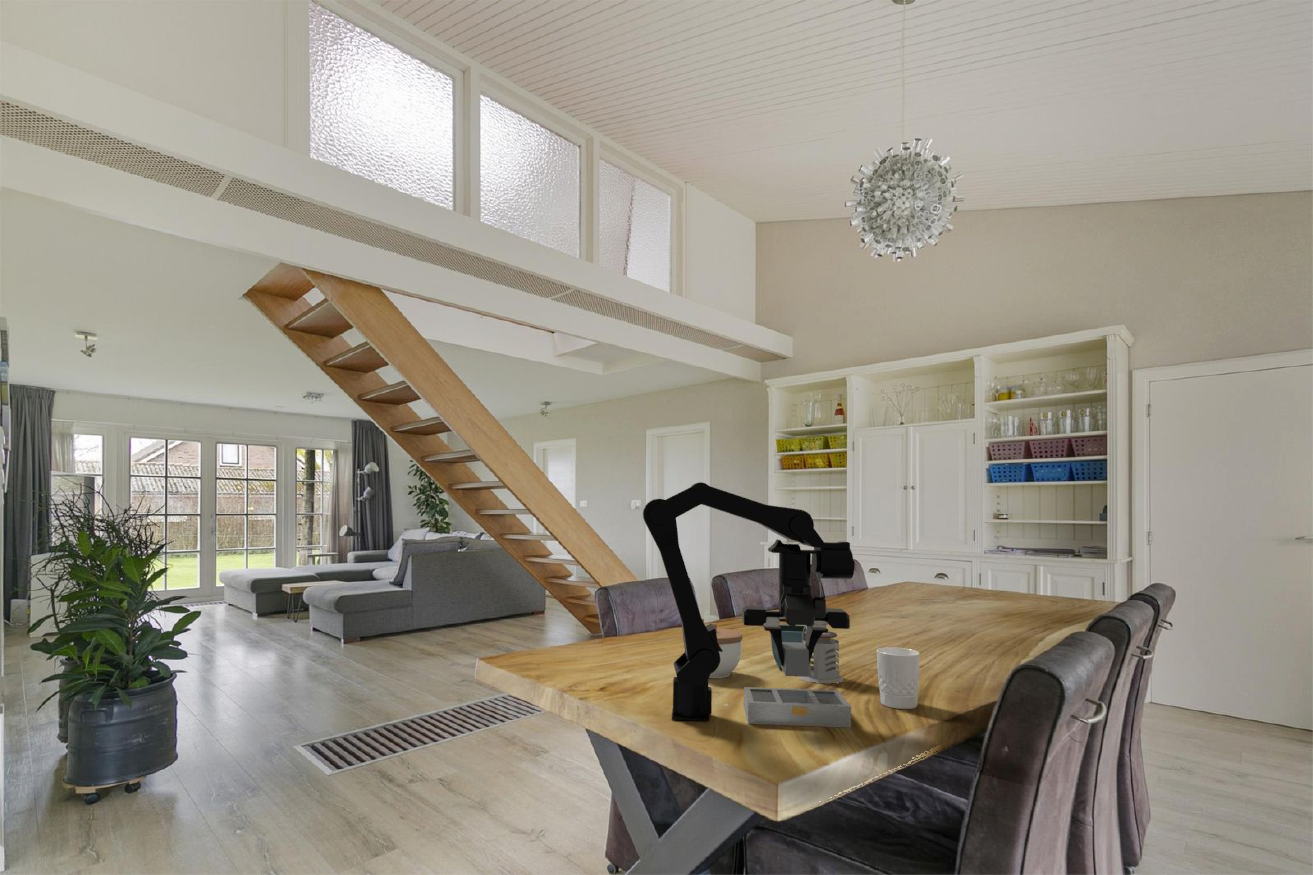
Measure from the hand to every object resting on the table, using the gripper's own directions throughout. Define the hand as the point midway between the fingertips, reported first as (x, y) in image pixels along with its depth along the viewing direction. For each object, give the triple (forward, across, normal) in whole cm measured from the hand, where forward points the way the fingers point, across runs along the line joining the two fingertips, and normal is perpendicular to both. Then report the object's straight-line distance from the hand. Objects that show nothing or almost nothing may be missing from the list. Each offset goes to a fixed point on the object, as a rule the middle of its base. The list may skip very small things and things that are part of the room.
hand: (794, 665), depth 125 cm
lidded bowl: (+9, -14, +29) cm, 34 cm away
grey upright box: (+1, 0, 0) cm, 1 cm away
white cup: (+9, +21, +10) cm, 25 cm away
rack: (+9, 0, 0) cm, 9 cm away
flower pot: (+9, +4, +39) cm, 41 cm away
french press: (+9, +9, +28) cm, 31 cm away
